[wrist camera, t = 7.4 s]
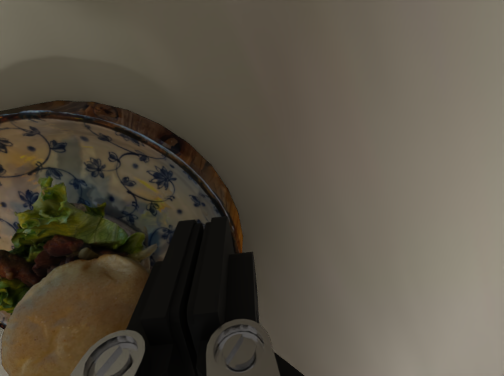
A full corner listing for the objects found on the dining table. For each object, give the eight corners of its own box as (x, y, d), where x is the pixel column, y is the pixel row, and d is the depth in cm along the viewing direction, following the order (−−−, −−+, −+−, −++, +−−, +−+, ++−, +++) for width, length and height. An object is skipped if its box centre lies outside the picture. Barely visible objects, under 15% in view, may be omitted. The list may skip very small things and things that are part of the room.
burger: (-7, 30, 9) (-761, -51, 2) (295, 195, 12) (365, 380, 5) (-57, 280, 13) (-373, 517, 6) (175, 359, 16) (126, 580, 9)
